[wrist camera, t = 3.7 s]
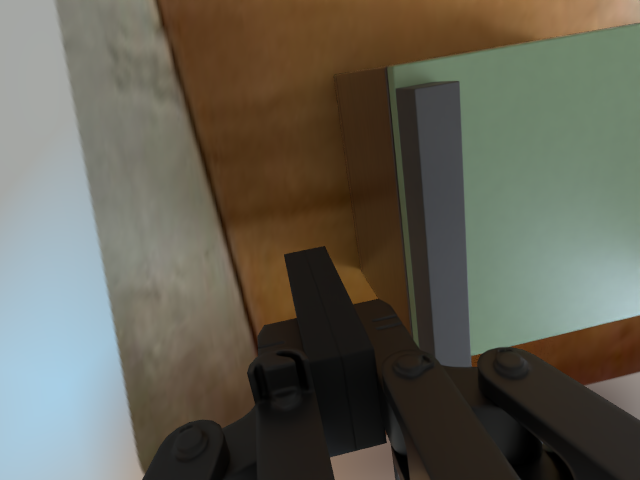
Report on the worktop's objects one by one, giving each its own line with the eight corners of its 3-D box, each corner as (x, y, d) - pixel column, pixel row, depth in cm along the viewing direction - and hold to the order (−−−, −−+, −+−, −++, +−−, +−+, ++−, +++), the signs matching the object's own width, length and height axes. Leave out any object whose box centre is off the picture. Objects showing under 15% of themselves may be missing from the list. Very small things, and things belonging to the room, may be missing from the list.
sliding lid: (414, 359, 21) (437, 396, 19) (386, 66, 16) (412, 62, 14) (662, 299, 22) (716, 327, 20) (703, 11, 18) (782, -2, 15)
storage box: (360, 270, 32) (413, 356, 21) (333, 74, 27) (384, 67, 17) (532, 233, 33) (659, 298, 23) (536, 39, 28) (698, 12, 18)
